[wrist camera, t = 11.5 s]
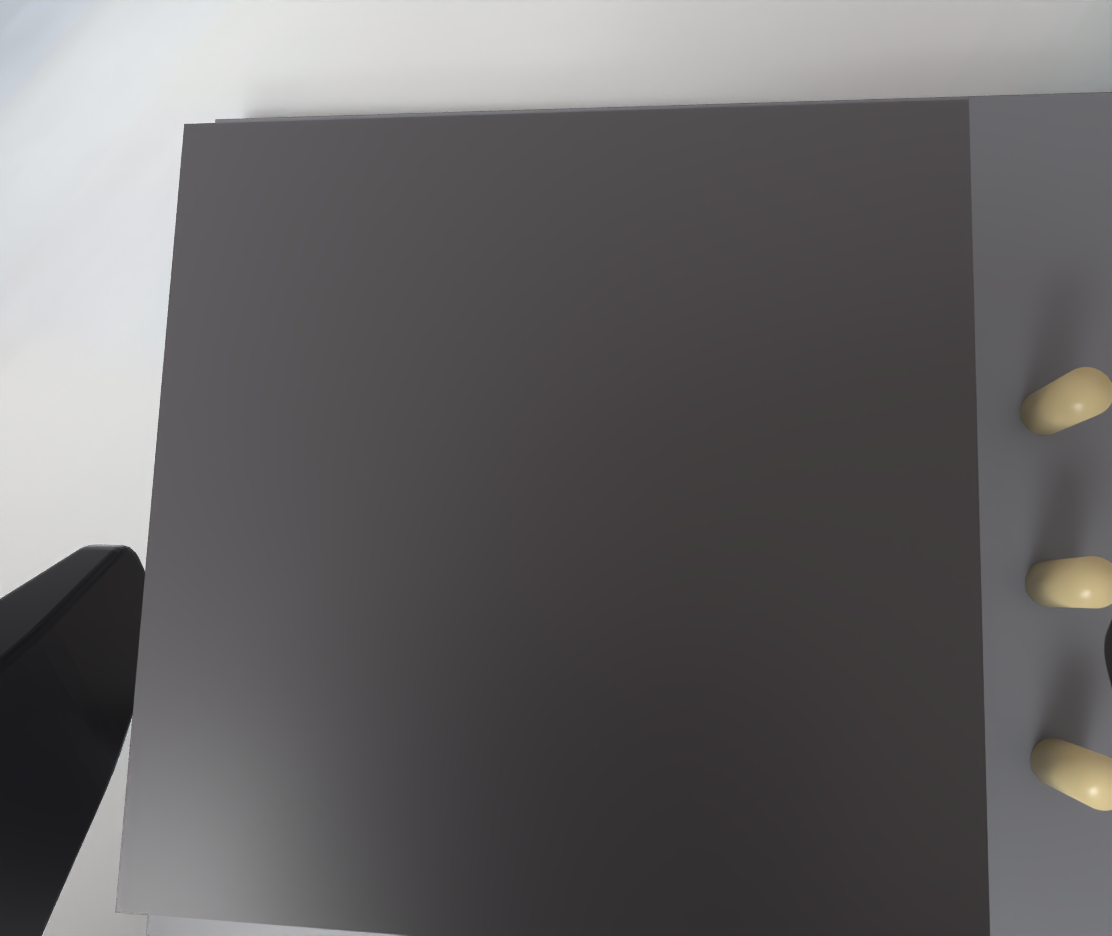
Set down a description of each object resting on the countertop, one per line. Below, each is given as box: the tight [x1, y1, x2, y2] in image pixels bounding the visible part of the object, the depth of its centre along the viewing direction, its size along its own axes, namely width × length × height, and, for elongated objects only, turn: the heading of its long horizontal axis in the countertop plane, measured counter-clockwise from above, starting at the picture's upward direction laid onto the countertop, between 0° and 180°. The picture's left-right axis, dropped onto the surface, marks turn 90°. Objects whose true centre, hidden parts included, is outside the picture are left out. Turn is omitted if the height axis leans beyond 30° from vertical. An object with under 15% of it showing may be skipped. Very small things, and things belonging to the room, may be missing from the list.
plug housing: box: [116, 99, 990, 936], centre depth 11 cm, size 4×4×13 cm
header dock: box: [147, 92, 1112, 936], centre depth 17 cm, size 18×18×4 cm
